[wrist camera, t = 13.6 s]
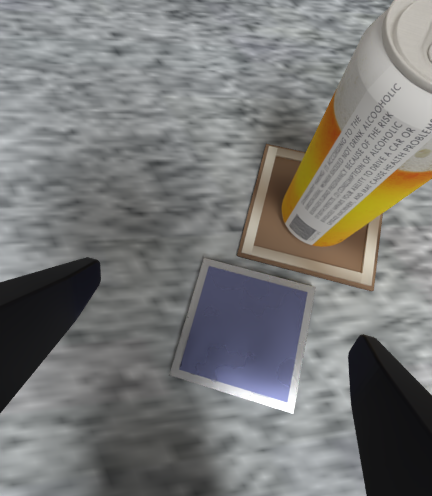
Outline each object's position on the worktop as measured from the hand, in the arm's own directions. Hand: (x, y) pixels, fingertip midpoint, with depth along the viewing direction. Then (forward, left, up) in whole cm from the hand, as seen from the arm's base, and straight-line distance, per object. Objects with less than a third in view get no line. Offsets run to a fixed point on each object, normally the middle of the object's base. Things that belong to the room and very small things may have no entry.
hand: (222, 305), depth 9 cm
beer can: (+10, -5, -12) cm, 17 cm away
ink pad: (0, -2, -13) cm, 13 cm away
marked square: (+11, -5, -13) cm, 17 cm away
